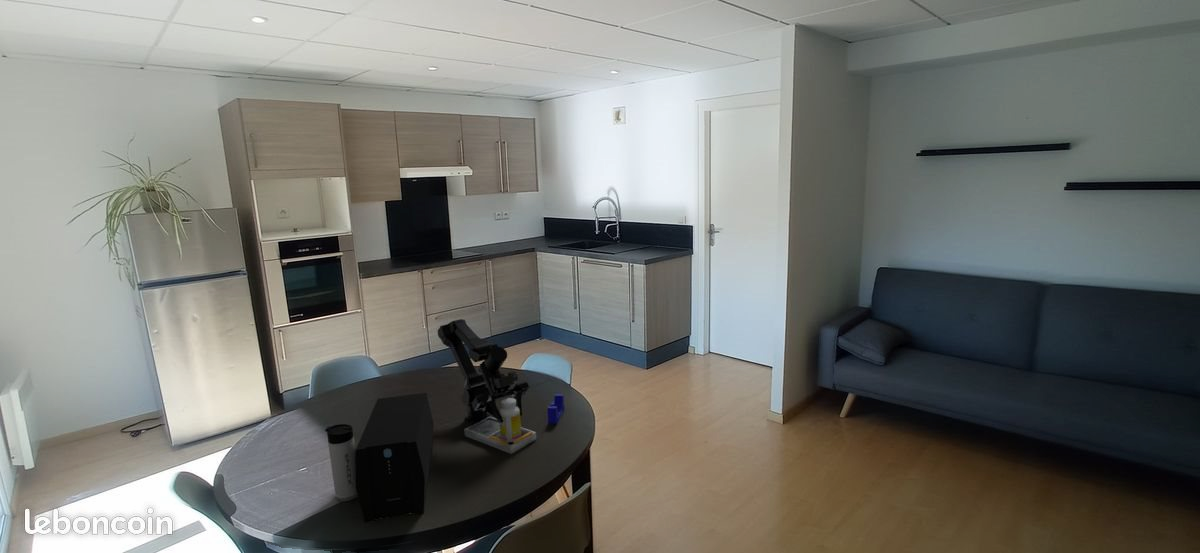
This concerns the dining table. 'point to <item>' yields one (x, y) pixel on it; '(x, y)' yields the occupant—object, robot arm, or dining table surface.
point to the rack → (497, 435)
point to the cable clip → (556, 409)
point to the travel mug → (343, 461)
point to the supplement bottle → (510, 420)
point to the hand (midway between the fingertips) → (511, 419)
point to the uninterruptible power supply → (395, 457)
